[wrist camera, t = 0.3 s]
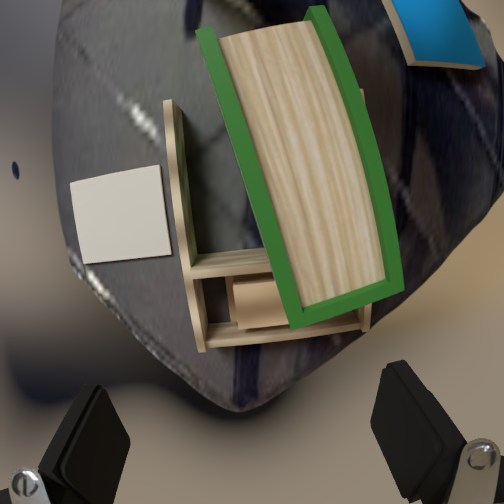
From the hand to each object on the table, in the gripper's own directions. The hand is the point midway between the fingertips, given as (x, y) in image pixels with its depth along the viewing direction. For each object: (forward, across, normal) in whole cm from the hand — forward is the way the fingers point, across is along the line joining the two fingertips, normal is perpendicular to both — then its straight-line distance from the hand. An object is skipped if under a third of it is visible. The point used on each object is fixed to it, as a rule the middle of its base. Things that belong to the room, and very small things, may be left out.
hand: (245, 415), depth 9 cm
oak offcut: (+29, -5, +9) cm, 31 cm away
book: (+34, -33, -36) cm, 60 cm away
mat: (+32, +17, -3) cm, 36 cm away
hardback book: (+32, -4, -7) cm, 33 cm away
